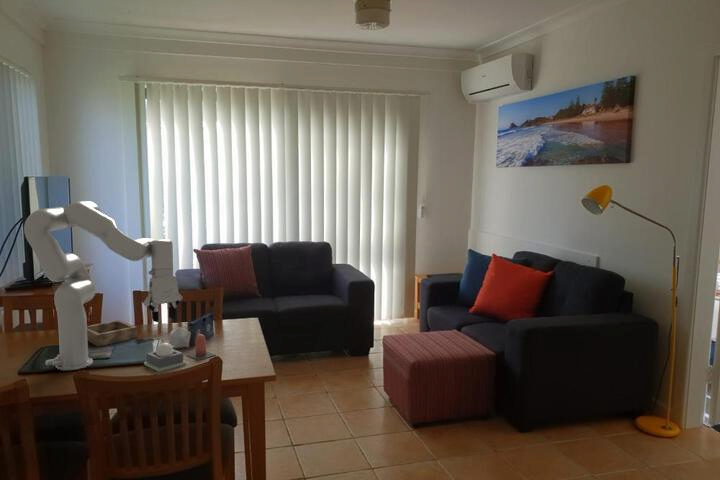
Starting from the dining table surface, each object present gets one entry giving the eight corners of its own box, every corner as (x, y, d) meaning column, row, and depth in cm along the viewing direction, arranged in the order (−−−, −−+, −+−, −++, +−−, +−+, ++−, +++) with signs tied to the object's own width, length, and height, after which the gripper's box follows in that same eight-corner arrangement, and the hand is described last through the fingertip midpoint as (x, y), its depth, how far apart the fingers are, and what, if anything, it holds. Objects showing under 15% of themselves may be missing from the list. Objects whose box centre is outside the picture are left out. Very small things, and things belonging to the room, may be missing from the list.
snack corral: (98, 346, 230) (97, 334, 229) (81, 338, 241) (80, 327, 240) (137, 338, 242) (137, 327, 242) (119, 330, 254) (119, 320, 253)
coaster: (198, 360, 214) (198, 359, 214) (186, 356, 219) (186, 355, 219) (215, 355, 220) (215, 354, 220) (204, 351, 225) (204, 350, 225)
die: (187, 355, 228) (196, 336, 235) (182, 341, 222) (191, 322, 229) (168, 353, 229) (177, 334, 236) (162, 339, 223) (172, 320, 230)
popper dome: (161, 361, 204) (161, 346, 204) (153, 357, 208) (153, 343, 208) (176, 357, 209) (176, 342, 208) (168, 353, 213) (167, 339, 212)
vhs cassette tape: (209, 334, 250) (208, 313, 249) (215, 335, 249) (214, 313, 248) (187, 346, 232) (186, 323, 231) (193, 346, 231) (193, 323, 230)
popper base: (159, 371, 201) (158, 360, 201) (144, 364, 208) (143, 353, 208) (186, 364, 209) (185, 353, 209) (170, 357, 217) (170, 347, 216)
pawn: (199, 357, 216) (198, 336, 216) (193, 355, 219) (193, 334, 218) (208, 354, 219) (207, 334, 219) (202, 352, 222) (202, 332, 221)
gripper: (145, 276, 196) (147, 326, 198) (188, 270, 209) (189, 317, 211) (135, 274, 201) (137, 322, 203) (178, 268, 214) (179, 314, 216)
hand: (163, 319), depth 207 cm, fingers open, 5 cm apart
